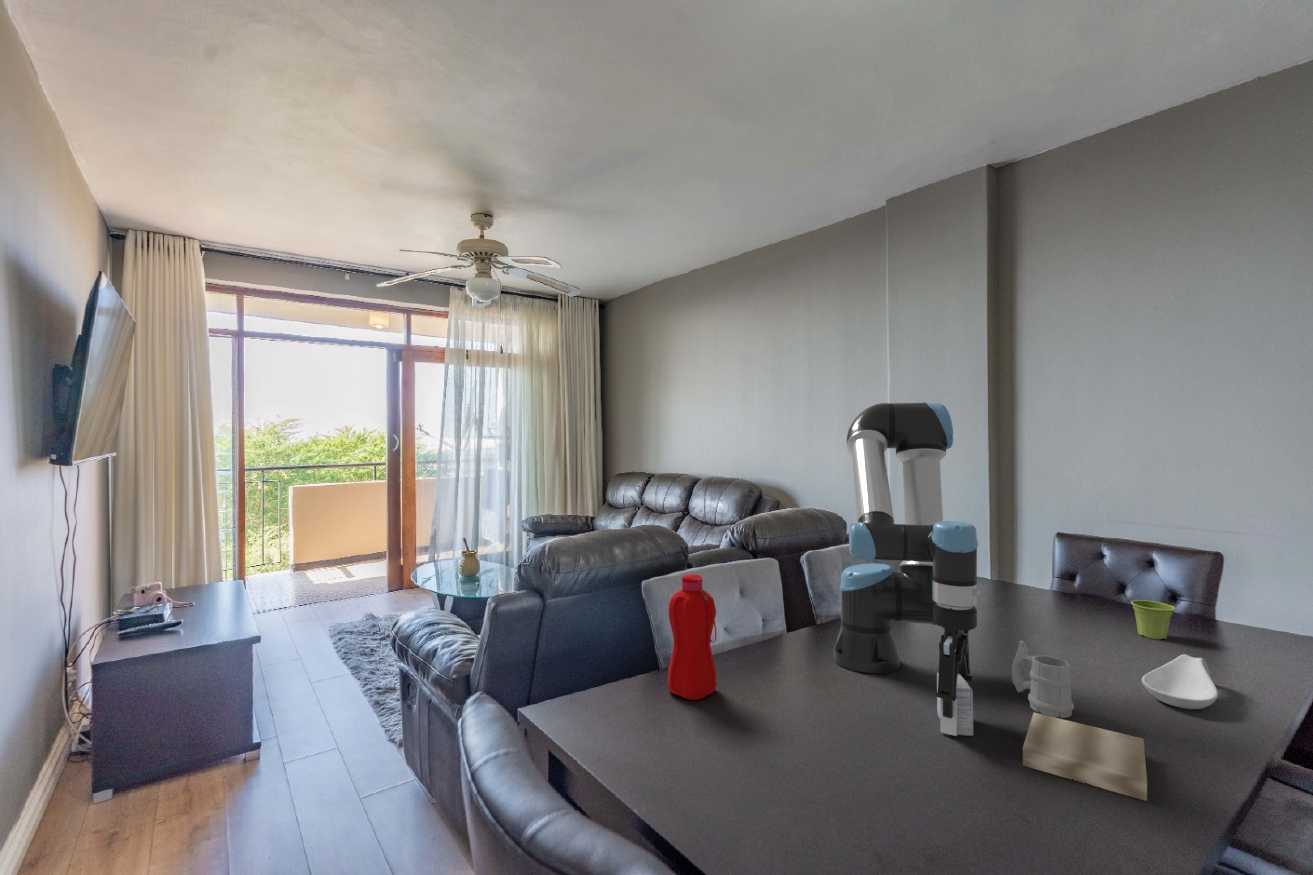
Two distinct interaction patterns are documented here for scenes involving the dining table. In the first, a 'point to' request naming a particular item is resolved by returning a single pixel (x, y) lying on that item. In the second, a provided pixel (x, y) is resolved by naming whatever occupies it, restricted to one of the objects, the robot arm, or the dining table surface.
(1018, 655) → the mug
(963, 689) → the medicine box
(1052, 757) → the birch stand
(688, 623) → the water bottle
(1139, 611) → the plant pot
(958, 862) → the dining table surface
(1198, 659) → the spoon rest
